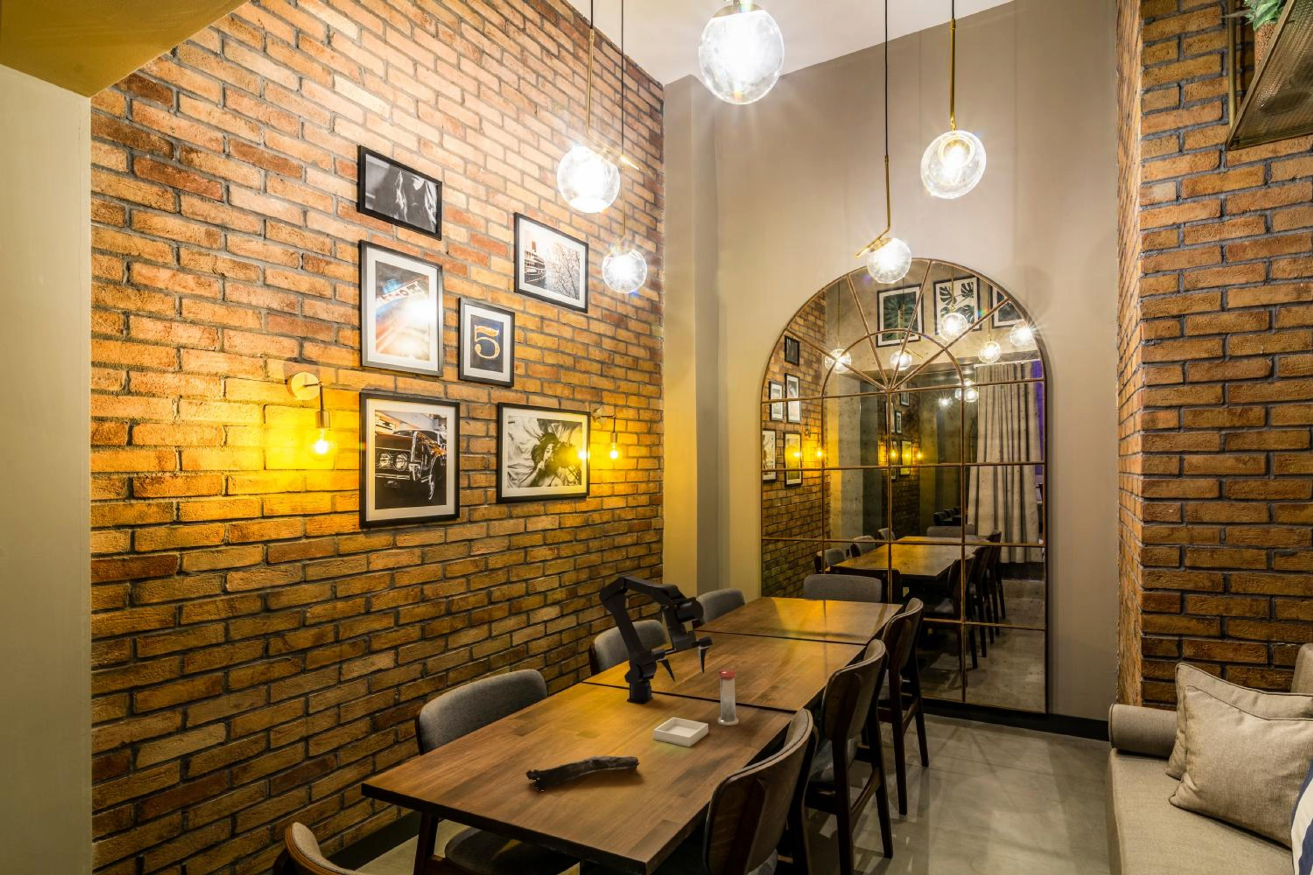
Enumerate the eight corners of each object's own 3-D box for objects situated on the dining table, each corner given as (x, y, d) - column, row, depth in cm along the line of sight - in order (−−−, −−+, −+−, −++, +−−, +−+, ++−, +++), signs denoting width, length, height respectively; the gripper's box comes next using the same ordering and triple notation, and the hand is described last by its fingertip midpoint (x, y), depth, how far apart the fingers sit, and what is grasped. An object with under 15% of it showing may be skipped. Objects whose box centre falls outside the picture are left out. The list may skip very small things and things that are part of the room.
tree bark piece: (522, 801, 156) (526, 788, 149) (523, 763, 162) (527, 748, 155) (636, 795, 163) (645, 782, 156) (633, 758, 169) (641, 744, 162)
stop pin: (714, 723, 194) (713, 672, 195) (723, 717, 199) (722, 667, 200) (733, 727, 191) (732, 675, 192) (741, 720, 196) (740, 669, 197)
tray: (653, 739, 183) (653, 729, 183) (673, 725, 192) (673, 716, 193) (689, 746, 177) (689, 737, 177) (708, 732, 187) (708, 723, 187)
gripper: (648, 632, 197) (661, 687, 193) (708, 616, 200) (722, 669, 196) (645, 633, 208) (658, 685, 204) (703, 618, 211) (716, 668, 206)
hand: (688, 677), depth 202 cm, fingers open, 9 cm apart
